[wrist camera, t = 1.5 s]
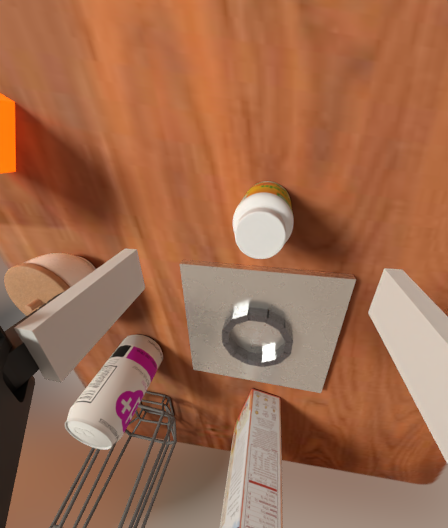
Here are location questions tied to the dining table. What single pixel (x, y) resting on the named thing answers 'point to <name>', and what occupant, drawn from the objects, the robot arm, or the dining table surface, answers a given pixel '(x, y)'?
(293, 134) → the dining table surface
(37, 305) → the lidded jar
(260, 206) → the supplement bottle
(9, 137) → the orange juice
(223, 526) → the cracker box
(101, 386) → the supplement can
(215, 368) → the plate
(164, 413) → the geometric lantern
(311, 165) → the dining table surface
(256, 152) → the dining table surface
